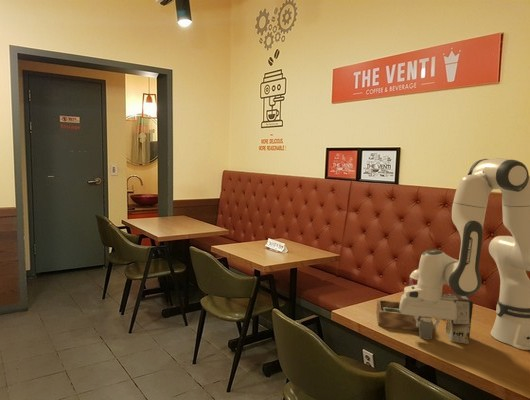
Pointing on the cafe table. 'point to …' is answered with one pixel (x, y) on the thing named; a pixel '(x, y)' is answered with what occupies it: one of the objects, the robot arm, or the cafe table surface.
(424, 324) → the plug
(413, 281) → the smoothie
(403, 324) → the crate
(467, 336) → the coffee box
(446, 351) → the cafe table surface
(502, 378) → the cafe table surface
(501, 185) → the robot arm
